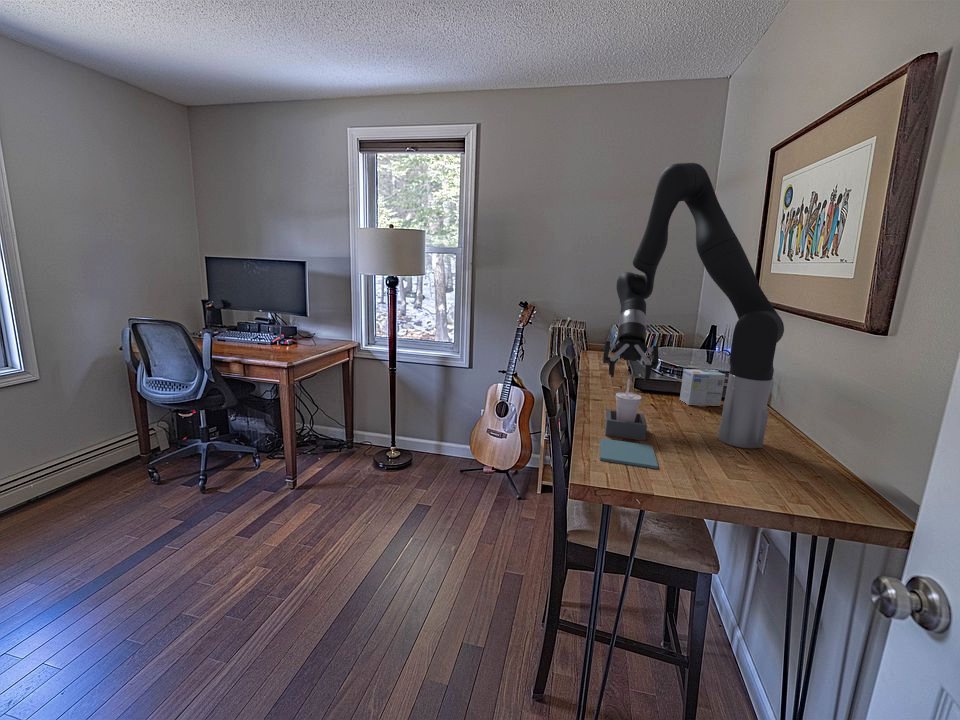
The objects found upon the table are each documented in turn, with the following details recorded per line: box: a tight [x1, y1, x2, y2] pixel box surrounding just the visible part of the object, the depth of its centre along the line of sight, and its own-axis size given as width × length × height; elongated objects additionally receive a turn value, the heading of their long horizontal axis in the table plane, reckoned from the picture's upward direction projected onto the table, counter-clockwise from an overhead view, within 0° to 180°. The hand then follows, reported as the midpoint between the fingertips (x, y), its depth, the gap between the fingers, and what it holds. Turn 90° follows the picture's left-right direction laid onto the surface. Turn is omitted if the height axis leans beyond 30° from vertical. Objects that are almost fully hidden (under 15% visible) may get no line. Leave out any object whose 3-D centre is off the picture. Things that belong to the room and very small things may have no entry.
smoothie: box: [615, 378, 642, 422], centre depth 119 cm, size 6×6×14 cm
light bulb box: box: [679, 368, 726, 407], centre depth 149 cm, size 11×7×11 cm, turn 94°
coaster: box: [599, 437, 659, 470], centre depth 106 cm, size 12×12×1 cm
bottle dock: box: [604, 408, 648, 441], centre depth 120 cm, size 10×10×4 cm
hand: (629, 377), depth 123 cm, fingers open, 8 cm apart
